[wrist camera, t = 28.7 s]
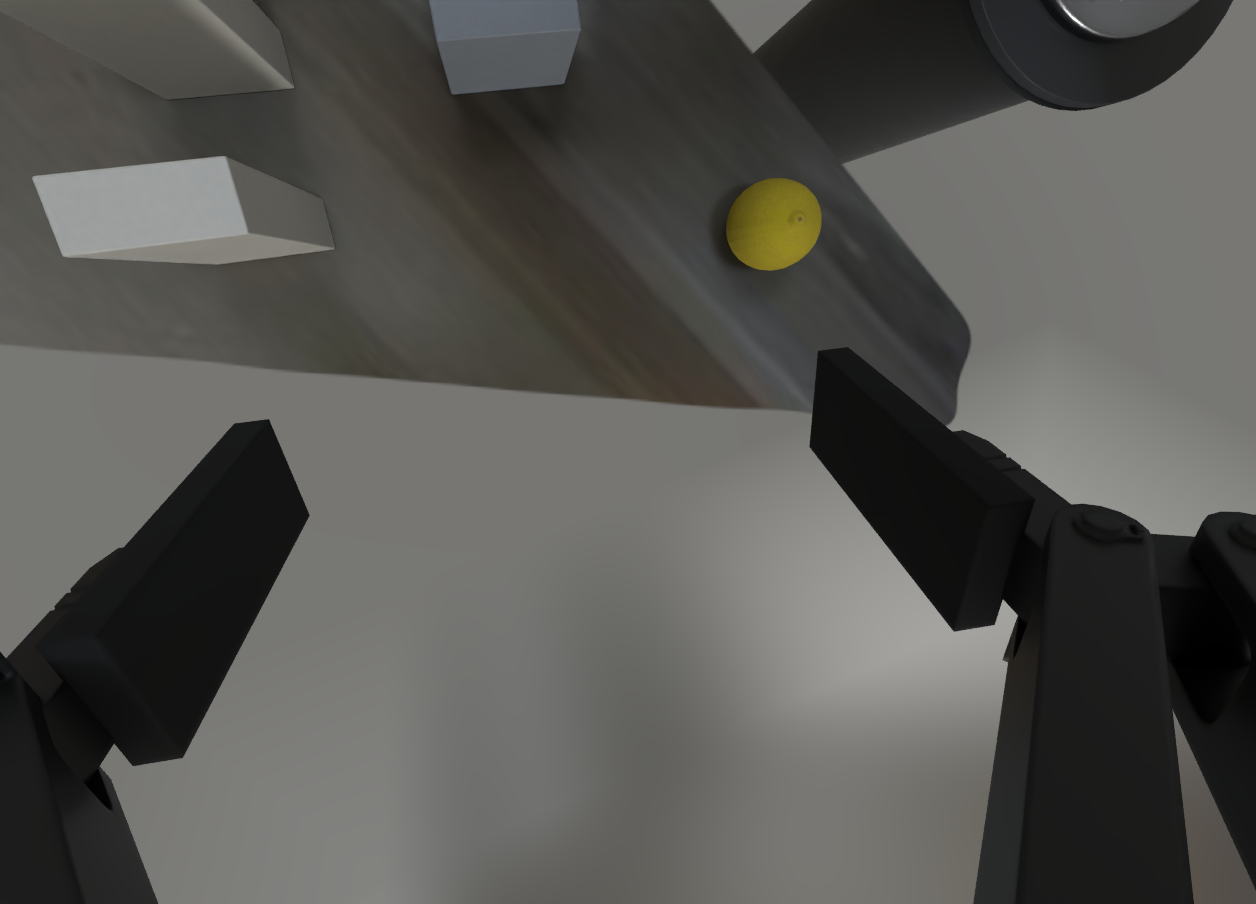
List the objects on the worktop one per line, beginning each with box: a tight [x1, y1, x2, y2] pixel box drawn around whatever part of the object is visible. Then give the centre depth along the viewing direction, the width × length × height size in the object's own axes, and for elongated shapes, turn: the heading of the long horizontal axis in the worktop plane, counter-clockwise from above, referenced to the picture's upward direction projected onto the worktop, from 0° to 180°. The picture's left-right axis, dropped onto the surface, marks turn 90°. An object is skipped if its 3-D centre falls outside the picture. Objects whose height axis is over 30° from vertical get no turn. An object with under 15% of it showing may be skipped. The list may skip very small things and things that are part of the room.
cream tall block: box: [32, 156, 335, 264], centre depth 31 cm, size 3×7×14 cm, turn 98°
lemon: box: [726, 178, 822, 270], centre depth 39 cm, size 6×6×8 cm
